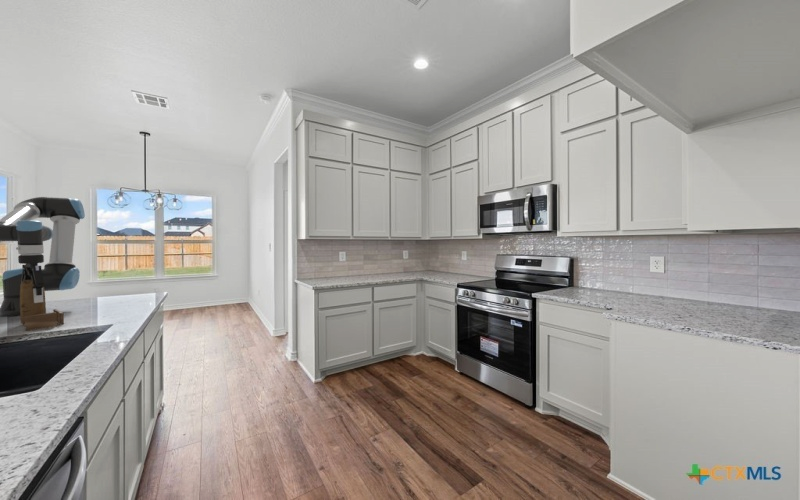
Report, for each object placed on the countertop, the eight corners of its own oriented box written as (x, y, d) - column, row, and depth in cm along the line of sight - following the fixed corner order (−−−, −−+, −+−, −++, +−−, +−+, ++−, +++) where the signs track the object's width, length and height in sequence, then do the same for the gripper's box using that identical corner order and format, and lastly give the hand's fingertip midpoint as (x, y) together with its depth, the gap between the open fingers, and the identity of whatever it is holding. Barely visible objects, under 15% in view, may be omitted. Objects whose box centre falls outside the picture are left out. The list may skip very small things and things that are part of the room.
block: (45, 323, 143) (43, 280, 142) (19, 326, 138) (17, 281, 137) (47, 319, 151) (45, 277, 150) (23, 322, 145) (21, 279, 145)
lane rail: (53, 319, 149) (53, 309, 149) (56, 319, 150) (55, 309, 150) (61, 324, 142) (60, 313, 142) (63, 323, 142) (63, 313, 142)
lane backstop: (25, 330, 133) (24, 316, 132) (56, 325, 140) (55, 312, 140) (25, 330, 132) (25, 316, 132) (57, 325, 139) (56, 312, 139)
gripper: (9, 254, 145) (11, 299, 146) (28, 255, 134) (30, 305, 135) (33, 253, 152) (35, 297, 153) (53, 254, 141) (55, 302, 142)
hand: (33, 301), depth 144 cm, fingers open, 12 cm apart
